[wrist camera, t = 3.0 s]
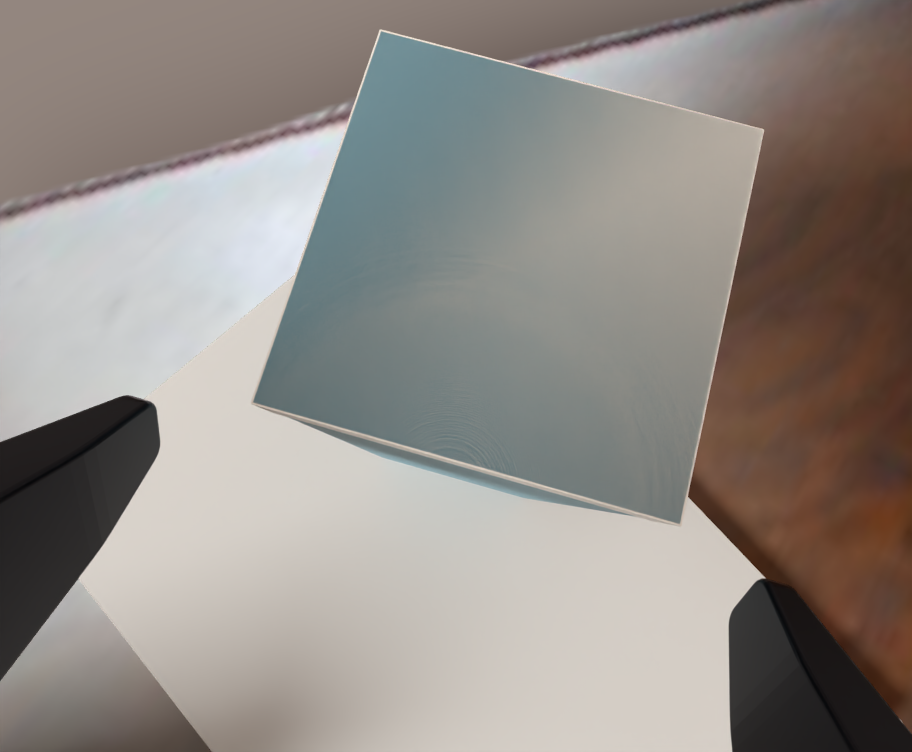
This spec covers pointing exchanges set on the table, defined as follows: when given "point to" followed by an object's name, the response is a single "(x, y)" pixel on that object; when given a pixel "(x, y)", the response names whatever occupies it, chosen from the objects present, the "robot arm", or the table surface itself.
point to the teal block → (517, 281)
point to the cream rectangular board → (401, 593)
